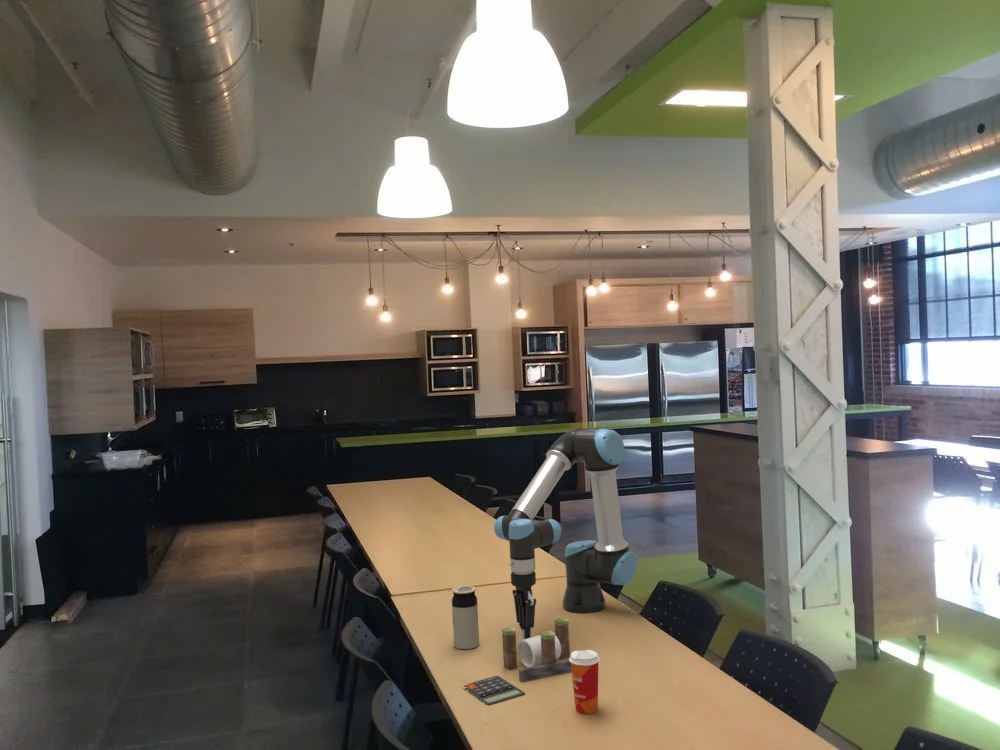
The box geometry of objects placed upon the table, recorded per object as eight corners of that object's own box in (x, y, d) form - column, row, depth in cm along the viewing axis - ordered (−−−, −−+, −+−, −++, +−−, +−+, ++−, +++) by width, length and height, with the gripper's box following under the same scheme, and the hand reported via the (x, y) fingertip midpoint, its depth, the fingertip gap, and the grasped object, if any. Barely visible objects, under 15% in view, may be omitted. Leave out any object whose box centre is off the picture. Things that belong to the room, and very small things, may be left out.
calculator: (497, 674, 225) (525, 692, 212) (497, 677, 225) (525, 696, 212) (460, 685, 219) (487, 704, 206) (461, 688, 219) (488, 707, 206)
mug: (562, 662, 233) (560, 635, 233) (534, 671, 227) (533, 643, 227) (537, 652, 243) (536, 626, 243) (510, 660, 237) (509, 633, 237)
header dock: (565, 653, 240) (563, 617, 240) (585, 668, 228) (584, 630, 227) (503, 666, 232) (501, 628, 232) (520, 682, 220) (519, 642, 220)
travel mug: (482, 642, 253) (480, 585, 253) (474, 651, 246) (471, 593, 245) (459, 640, 256) (457, 584, 256) (450, 649, 248) (447, 591, 248)
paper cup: (569, 703, 205) (566, 650, 205) (598, 701, 206) (595, 647, 205) (574, 717, 197) (571, 661, 197) (605, 714, 198) (602, 658, 197)
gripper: (503, 568, 246) (506, 644, 246) (520, 578, 233) (523, 658, 234) (525, 565, 248) (529, 640, 249) (543, 574, 236) (546, 653, 237)
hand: (526, 648), depth 241 cm, fingers closed
